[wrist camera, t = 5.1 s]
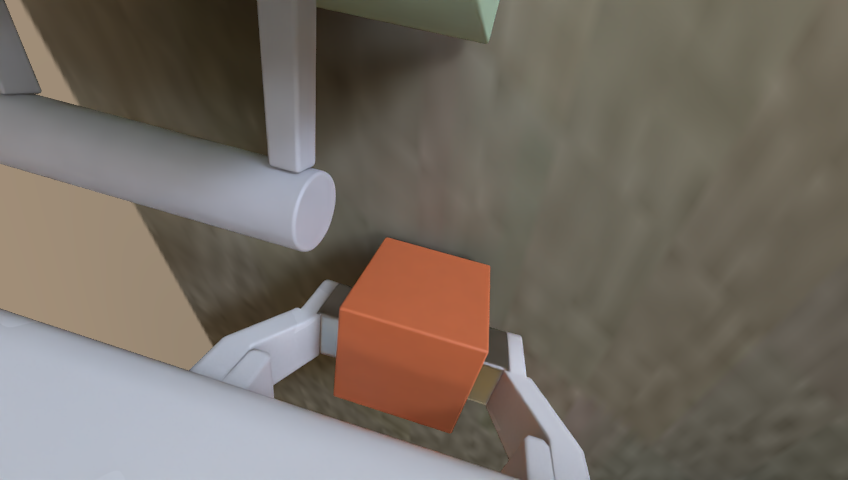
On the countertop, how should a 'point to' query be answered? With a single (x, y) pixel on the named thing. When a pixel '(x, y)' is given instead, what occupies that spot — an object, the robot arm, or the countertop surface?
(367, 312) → the block
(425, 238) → the countertop surface
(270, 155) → the drawer
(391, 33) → the countertop surface
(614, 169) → the countertop surface
